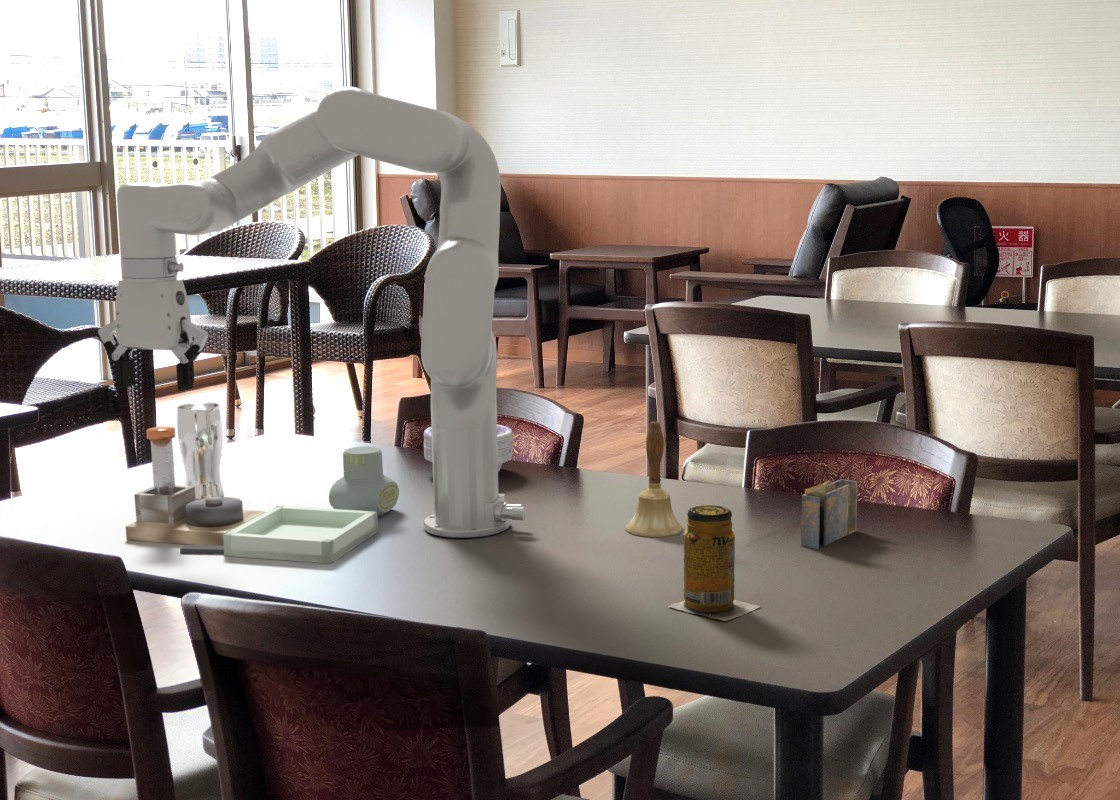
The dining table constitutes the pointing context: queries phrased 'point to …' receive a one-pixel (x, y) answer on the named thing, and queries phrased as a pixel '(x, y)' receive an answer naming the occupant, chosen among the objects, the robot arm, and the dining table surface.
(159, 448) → the capped tube
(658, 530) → the hand bell
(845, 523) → the grey split block
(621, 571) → the dining table surface
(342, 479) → the air freshener
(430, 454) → the paper bowls
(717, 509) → the condiment
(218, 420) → the beer glass
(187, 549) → the dark grey bar
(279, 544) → the tray
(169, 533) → the wooden base with holder
